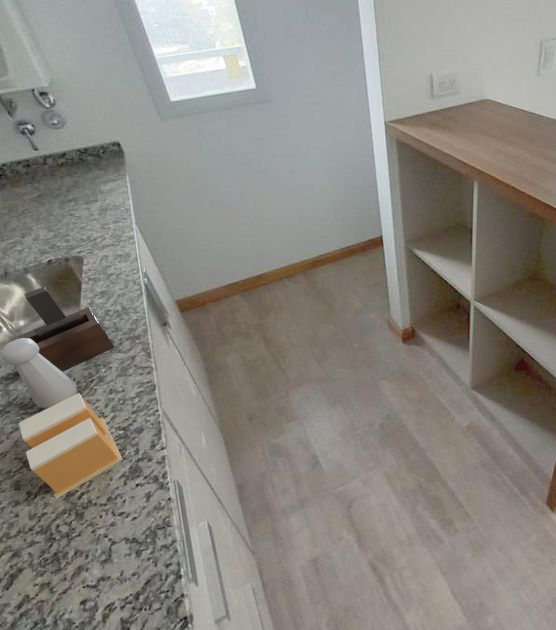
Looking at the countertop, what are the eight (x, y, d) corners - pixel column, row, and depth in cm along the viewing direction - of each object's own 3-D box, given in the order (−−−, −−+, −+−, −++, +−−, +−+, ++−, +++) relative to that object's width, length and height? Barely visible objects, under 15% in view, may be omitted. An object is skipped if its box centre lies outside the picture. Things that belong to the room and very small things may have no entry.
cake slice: (57, 493, 59) (30, 468, 55) (52, 477, 61) (25, 451, 58) (117, 457, 63) (96, 432, 59) (110, 443, 65) (89, 417, 61)
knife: (60, 364, 81) (11, 303, 72) (57, 359, 82) (10, 299, 73) (101, 345, 85) (60, 285, 76) (98, 340, 86) (57, 281, 77)
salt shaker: (58, 420, 70) (5, 362, 62) (35, 411, 72) (-19, 353, 64) (91, 393, 75) (45, 336, 66) (68, 385, 76) (22, 328, 68)
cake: (58, 502, 59) (27, 474, 55) (43, 453, 66) (14, 424, 61) (125, 462, 63) (101, 433, 59) (105, 419, 70) (81, 391, 66)
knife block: (45, 379, 78) (24, 355, 74) (38, 359, 82) (18, 335, 79) (114, 347, 84) (98, 323, 80) (104, 330, 88) (88, 306, 84)
